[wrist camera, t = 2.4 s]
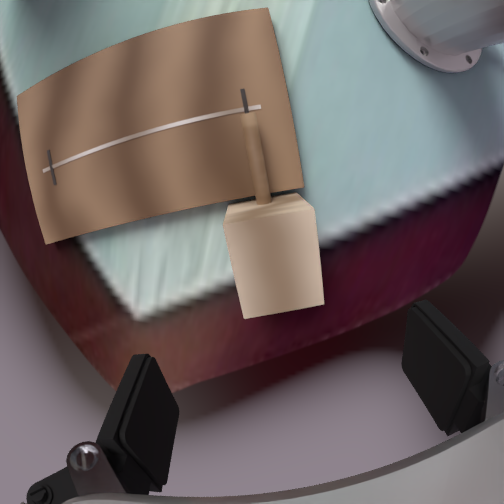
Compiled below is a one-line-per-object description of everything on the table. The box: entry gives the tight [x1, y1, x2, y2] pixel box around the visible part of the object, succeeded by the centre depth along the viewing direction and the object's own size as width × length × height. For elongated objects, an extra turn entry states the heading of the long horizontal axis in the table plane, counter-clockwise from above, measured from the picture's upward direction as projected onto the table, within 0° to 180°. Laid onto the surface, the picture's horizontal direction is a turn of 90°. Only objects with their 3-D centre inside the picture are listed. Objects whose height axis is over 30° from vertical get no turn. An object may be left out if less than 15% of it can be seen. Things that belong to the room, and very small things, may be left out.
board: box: [17, 8, 304, 244], centre depth 19 cm, size 22×14×1 cm, turn 100°
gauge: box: [223, 112, 324, 319], centre depth 19 cm, size 5×12×6 cm, turn 10°
